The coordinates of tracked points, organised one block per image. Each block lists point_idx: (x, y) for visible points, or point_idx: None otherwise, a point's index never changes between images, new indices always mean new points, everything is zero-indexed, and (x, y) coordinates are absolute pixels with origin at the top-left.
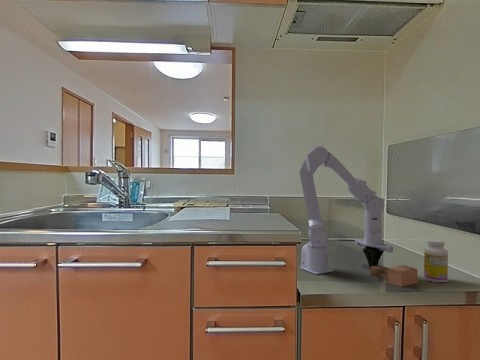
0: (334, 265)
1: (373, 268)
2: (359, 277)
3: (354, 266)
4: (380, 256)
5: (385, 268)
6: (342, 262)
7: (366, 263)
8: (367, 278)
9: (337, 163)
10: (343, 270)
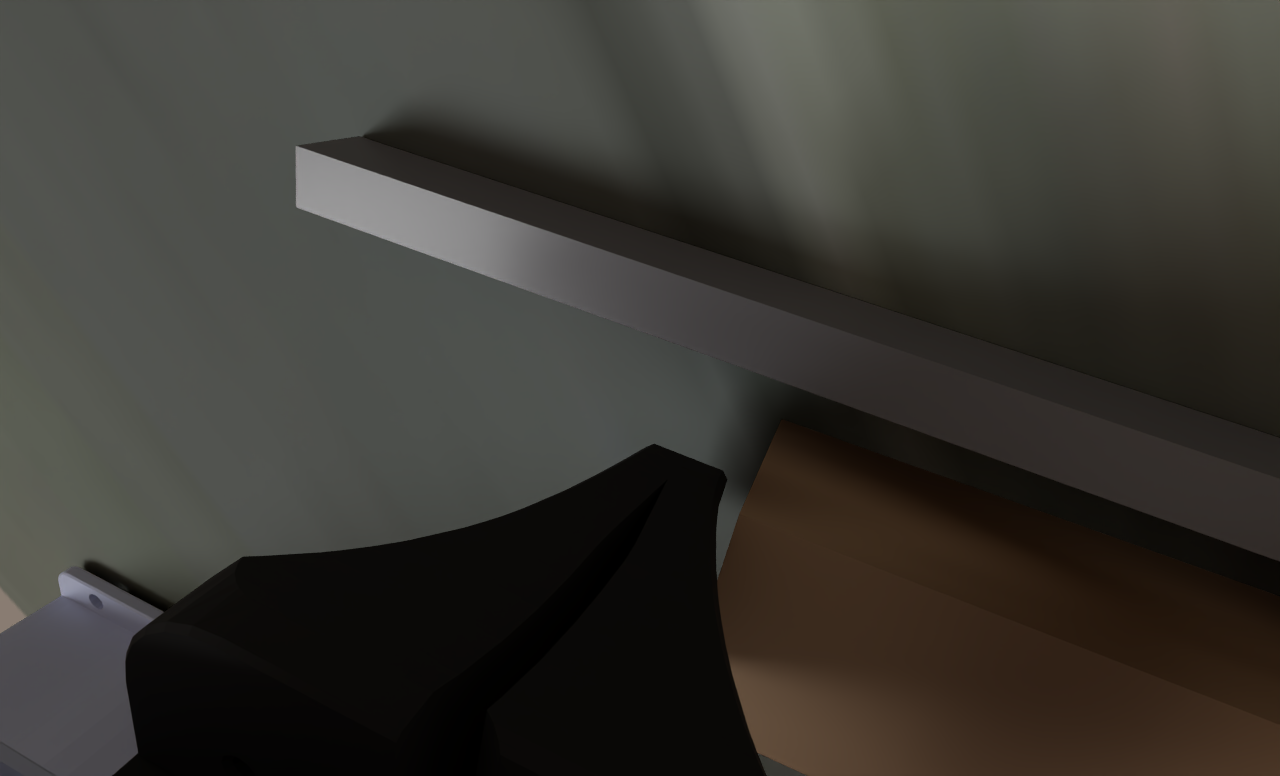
0: (129, 409)
1: (753, 732)
2: None
3: (270, 249)
4: (728, 697)
5: (999, 715)
6: (32, 149)
7: (355, 167)
8: (767, 764)
9: None
10: None
